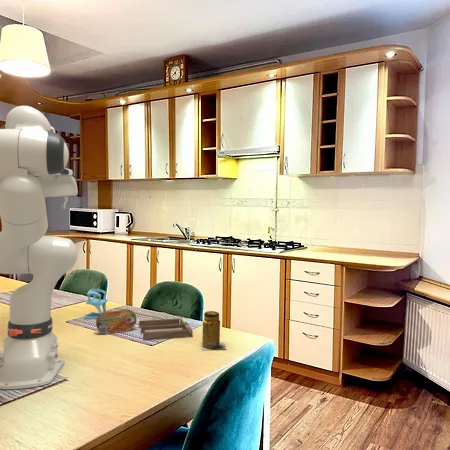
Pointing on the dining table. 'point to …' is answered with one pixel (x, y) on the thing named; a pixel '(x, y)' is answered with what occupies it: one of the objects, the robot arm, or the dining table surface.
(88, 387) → the dining table surface
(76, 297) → the dining table surface
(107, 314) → the tin
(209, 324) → the condiment
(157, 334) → the wooden slotted tray
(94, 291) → the chair
